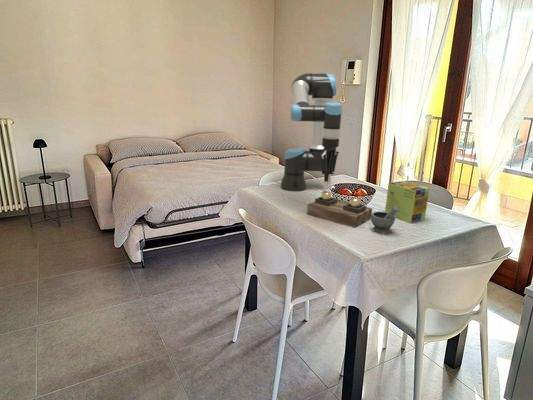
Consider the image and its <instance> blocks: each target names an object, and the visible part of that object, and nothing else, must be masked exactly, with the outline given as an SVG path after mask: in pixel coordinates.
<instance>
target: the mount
mask: <svg viewBox="0 0 533 400" xmlns="http://www.w3.org/2000/svg"><path fill="white" fill-rule="evenodd" d="M321 199H322V195H321V196H319V197H316V198H315V199H314V201H313V202H310V203H308V204H307V213H306V214H307V215H308V216H312V217H315V218H319V219H323V220H327V221H328V222H333V223H337V224H340V225H345V226H348V227H351V228H357V227H359V226H361V225H362V224H364V223H366V222H368V221H369V220H371V214H372V213H373V208H371V207H368V206H367V205H365V204H361V203H360V208H358V209H357V208H353V207H350V202H348V201H347V202H346V201H343V200H338V198H336V197H331V200H330V201H324V200H321Z"/></svg>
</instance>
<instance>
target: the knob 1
mask: <svg viewBox="0 0 533 400" xmlns="http://www.w3.org/2000/svg"><path fill="white" fill-rule="evenodd" d="M321 196H322V199H321V200H324V201H330V200H331V198H332V192H331V191H329V190H328V191H326V190H324V191H322V192H321Z"/></svg>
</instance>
